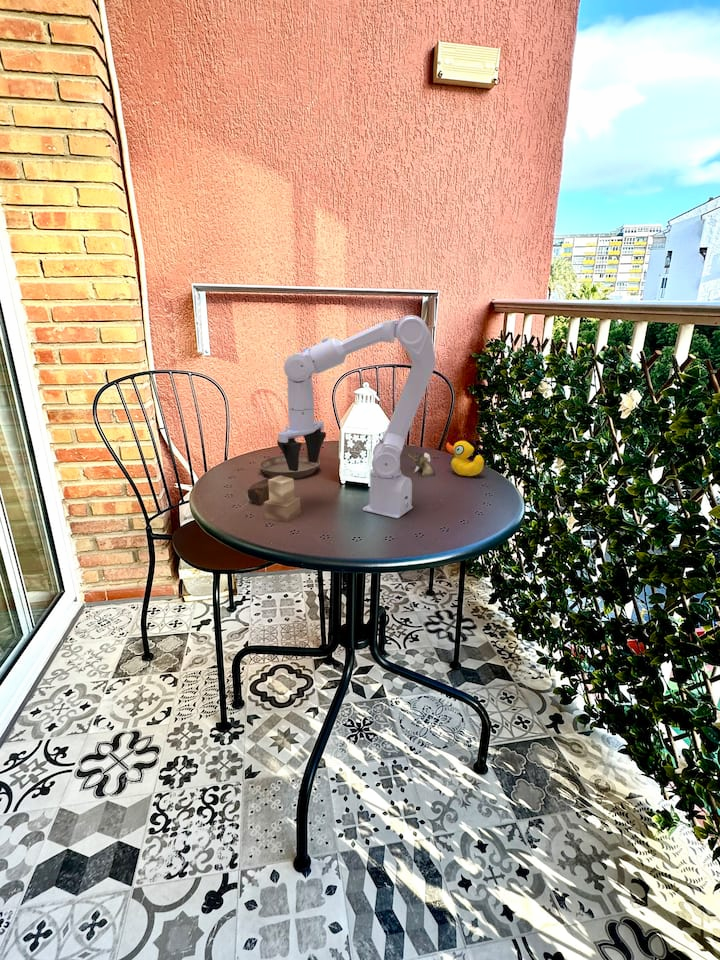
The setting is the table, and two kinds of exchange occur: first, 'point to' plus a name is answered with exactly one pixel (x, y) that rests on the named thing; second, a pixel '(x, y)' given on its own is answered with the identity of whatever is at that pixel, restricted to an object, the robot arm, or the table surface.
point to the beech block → (281, 489)
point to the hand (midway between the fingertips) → (303, 466)
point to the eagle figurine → (423, 464)
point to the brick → (259, 491)
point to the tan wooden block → (282, 510)
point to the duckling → (465, 459)
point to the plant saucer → (281, 468)
